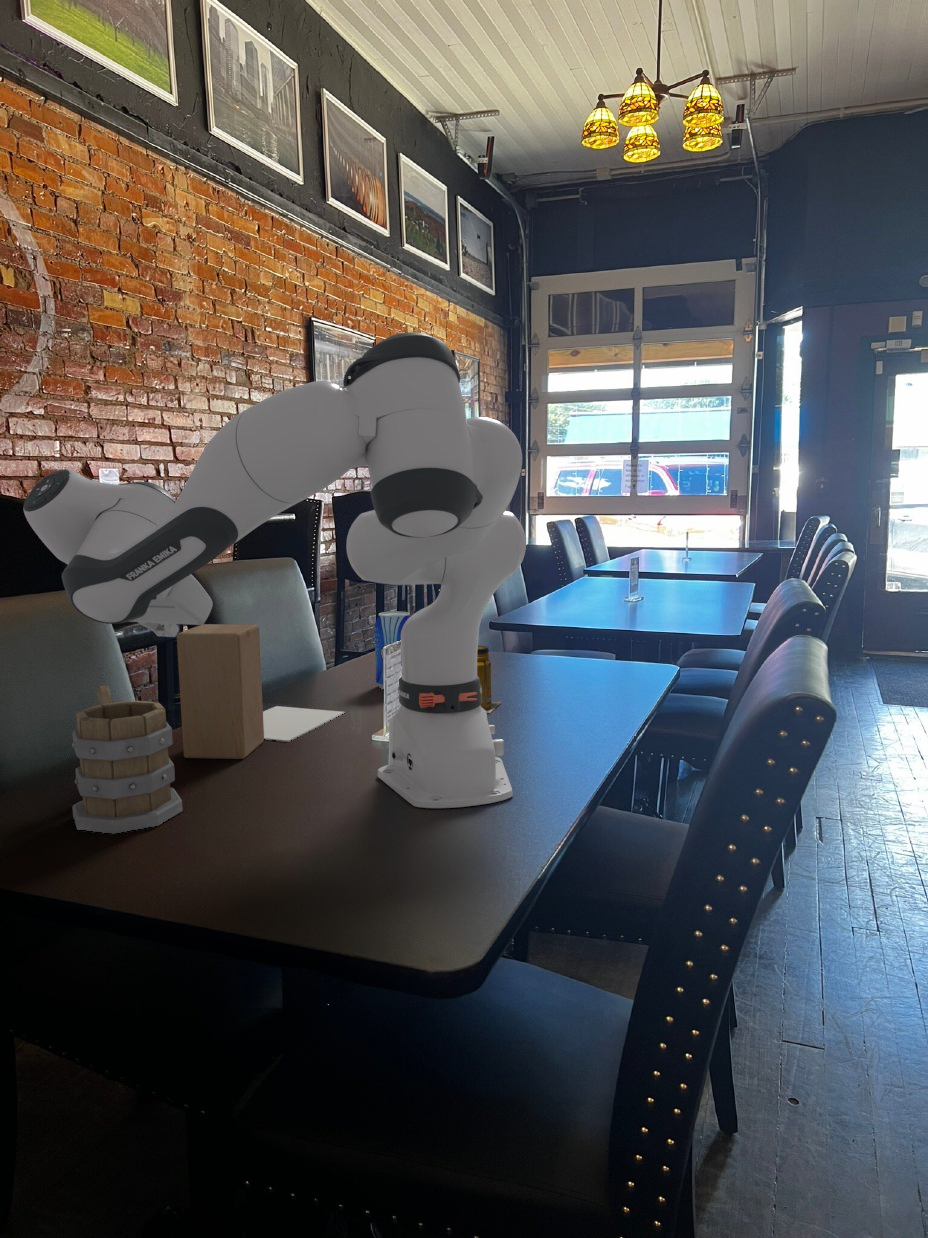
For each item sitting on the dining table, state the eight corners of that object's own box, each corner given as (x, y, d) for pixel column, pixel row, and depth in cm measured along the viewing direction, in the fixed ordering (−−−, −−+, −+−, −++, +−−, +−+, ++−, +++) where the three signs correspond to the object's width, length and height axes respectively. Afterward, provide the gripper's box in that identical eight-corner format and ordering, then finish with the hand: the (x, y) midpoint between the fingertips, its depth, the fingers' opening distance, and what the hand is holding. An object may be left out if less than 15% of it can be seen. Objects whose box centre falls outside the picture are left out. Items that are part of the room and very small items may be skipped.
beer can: (410, 692, 178) (409, 616, 176) (371, 691, 179) (369, 616, 177) (419, 683, 186) (417, 611, 184) (381, 682, 188) (379, 610, 185)
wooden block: (265, 741, 143) (259, 623, 140) (244, 760, 133) (238, 633, 130) (207, 740, 144) (201, 623, 141) (182, 758, 134) (175, 633, 131)
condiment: (453, 711, 162) (452, 649, 160) (466, 701, 170) (465, 642, 168) (489, 714, 160) (489, 651, 158) (501, 703, 168) (501, 643, 166)
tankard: (189, 821, 108) (182, 706, 106) (80, 842, 102) (71, 719, 100) (159, 777, 125) (153, 677, 123) (65, 792, 119) (56, 687, 117)
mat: (288, 742, 142) (288, 740, 142) (213, 734, 148) (213, 733, 148) (345, 713, 161) (344, 711, 161) (276, 707, 166) (276, 706, 166)
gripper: (44, 588, 116) (102, 647, 127) (169, 592, 109) (218, 654, 120) (67, 553, 120) (121, 613, 130) (189, 555, 113) (235, 618, 123)
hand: (169, 633), depth 125 cm, fingers closed
